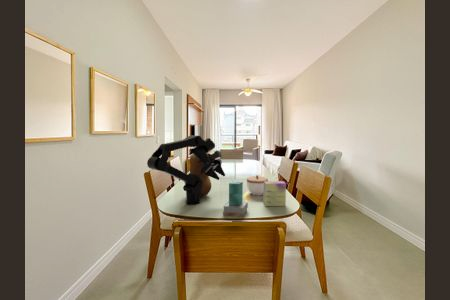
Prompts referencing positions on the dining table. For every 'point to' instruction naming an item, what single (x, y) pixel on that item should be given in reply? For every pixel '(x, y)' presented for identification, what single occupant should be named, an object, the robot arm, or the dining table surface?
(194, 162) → the butternut squash
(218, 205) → the dining table surface
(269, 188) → the box
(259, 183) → the lidded bowl
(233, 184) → the teal block
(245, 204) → the tower top slab
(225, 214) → the tower bottom slab
